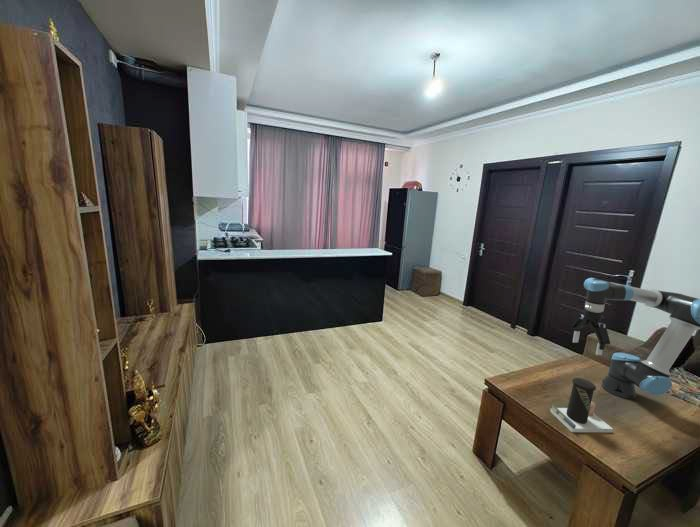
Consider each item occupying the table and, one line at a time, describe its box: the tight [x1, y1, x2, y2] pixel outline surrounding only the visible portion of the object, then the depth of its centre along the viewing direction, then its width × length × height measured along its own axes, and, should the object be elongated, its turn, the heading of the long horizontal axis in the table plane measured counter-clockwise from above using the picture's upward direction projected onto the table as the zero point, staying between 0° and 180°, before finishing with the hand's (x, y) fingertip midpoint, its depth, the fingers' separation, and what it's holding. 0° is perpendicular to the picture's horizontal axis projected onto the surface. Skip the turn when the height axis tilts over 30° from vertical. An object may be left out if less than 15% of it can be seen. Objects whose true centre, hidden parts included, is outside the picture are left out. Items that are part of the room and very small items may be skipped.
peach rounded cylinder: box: [589, 400, 596, 416], centre depth 144 cm, size 5×5×6 cm
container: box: [566, 377, 597, 424], centre depth 139 cm, size 9×9×20 cm
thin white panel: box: [549, 404, 614, 433], centre depth 140 cm, size 20×14×4 cm
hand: (586, 348), depth 150 cm, fingers open, 13 cm apart
